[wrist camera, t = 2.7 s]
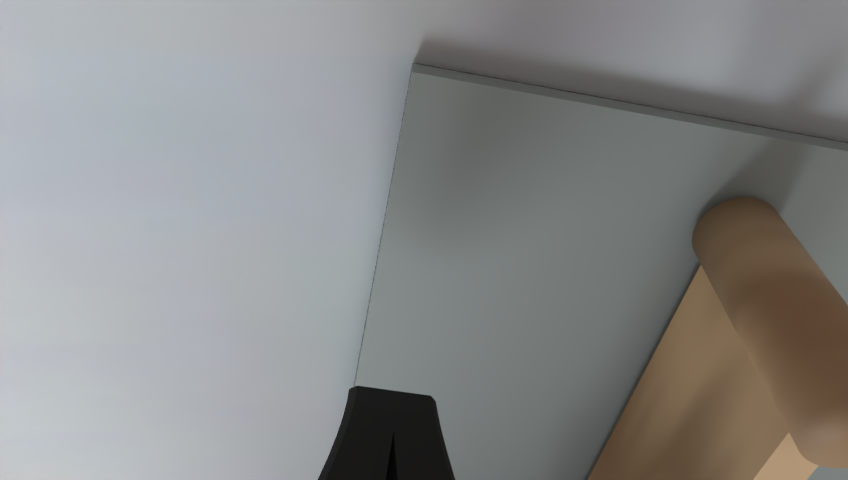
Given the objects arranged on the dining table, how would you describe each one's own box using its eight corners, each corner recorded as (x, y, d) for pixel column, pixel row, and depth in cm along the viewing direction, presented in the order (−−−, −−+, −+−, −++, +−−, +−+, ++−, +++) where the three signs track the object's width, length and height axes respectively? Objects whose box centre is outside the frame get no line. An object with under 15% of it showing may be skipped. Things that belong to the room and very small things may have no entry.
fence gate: (613, 514, 18) (660, 713, 14) (555, 507, 18) (586, 706, 14) (796, 204, 12) (951, 398, 9) (713, 190, 12) (836, 380, 9)
